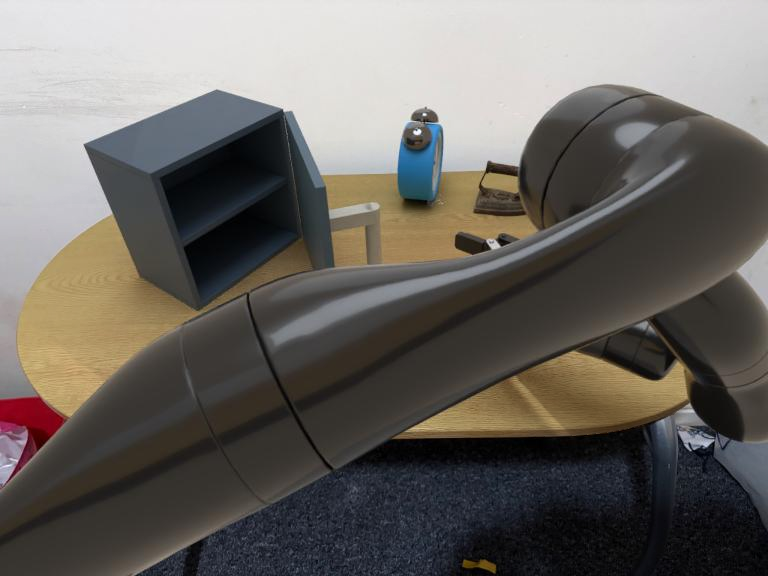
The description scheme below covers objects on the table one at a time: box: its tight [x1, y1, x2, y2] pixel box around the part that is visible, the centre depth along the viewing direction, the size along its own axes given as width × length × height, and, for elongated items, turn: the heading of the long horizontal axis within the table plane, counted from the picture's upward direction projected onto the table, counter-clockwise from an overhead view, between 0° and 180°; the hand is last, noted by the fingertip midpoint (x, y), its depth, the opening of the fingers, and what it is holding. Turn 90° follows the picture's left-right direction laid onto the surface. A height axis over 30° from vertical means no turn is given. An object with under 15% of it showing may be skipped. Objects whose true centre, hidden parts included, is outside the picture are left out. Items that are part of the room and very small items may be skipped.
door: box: [284, 110, 383, 270], centre depth 74 cm, size 8×22×22 cm, turn 17°
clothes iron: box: [473, 160, 527, 217], centre depth 93 cm, size 7×11×10 cm, turn 75°
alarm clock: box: [396, 106, 445, 207], centre depth 94 cm, size 13×6×15 cm, turn 167°
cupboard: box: [83, 88, 303, 312], centre depth 79 cm, size 14×22×22 cm, turn 144°
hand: (437, 256), depth 63 cm, fingers open, 8 cm apart
